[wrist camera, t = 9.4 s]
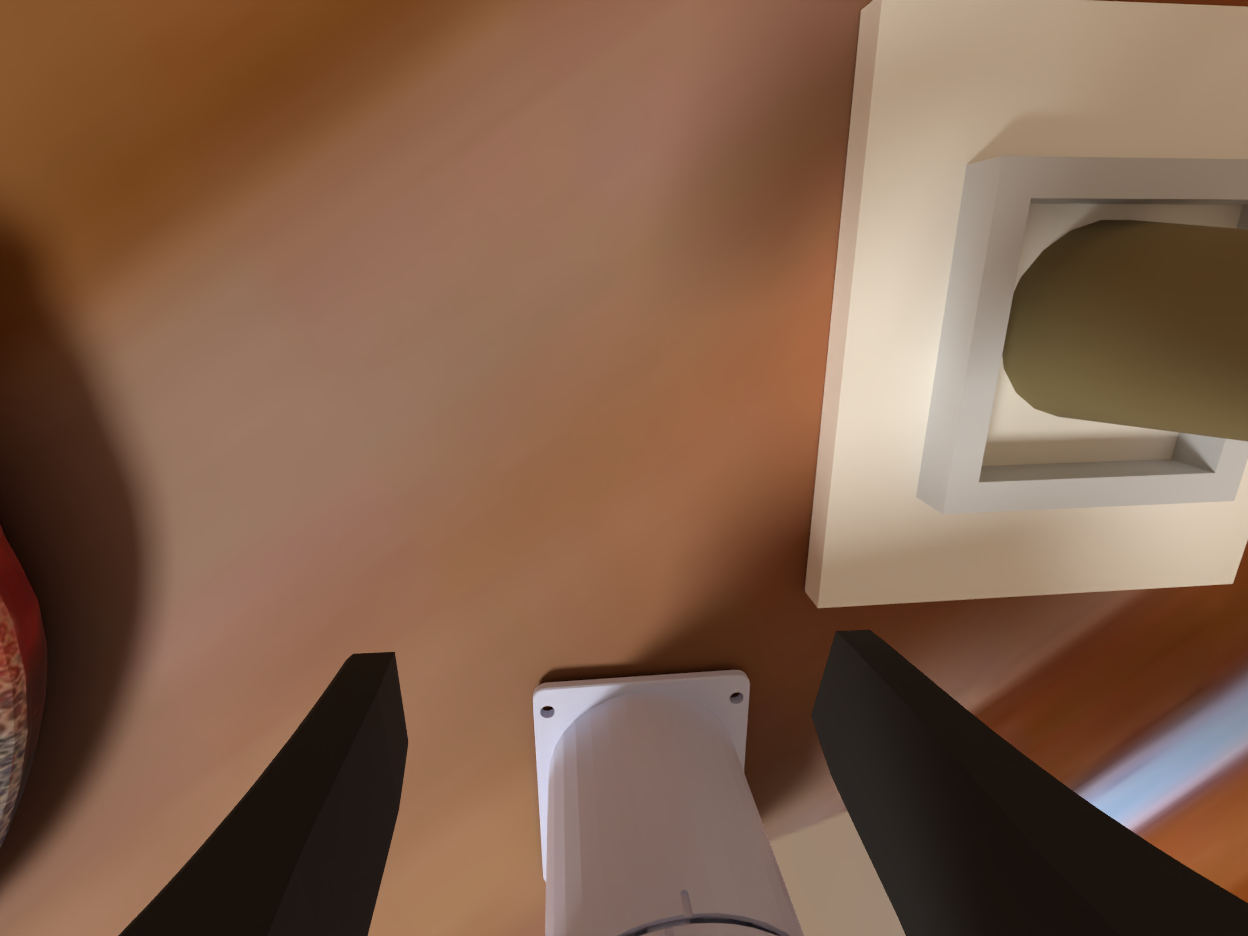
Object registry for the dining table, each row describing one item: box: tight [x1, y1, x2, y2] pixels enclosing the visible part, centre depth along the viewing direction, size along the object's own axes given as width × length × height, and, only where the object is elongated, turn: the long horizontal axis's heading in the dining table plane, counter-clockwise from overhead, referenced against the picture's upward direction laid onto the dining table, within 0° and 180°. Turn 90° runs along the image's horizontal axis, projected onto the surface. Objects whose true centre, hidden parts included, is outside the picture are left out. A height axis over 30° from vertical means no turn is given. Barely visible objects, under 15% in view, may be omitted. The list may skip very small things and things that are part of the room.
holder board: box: [805, 0, 1248, 608], centre depth 19 cm, size 18×16×3 cm
